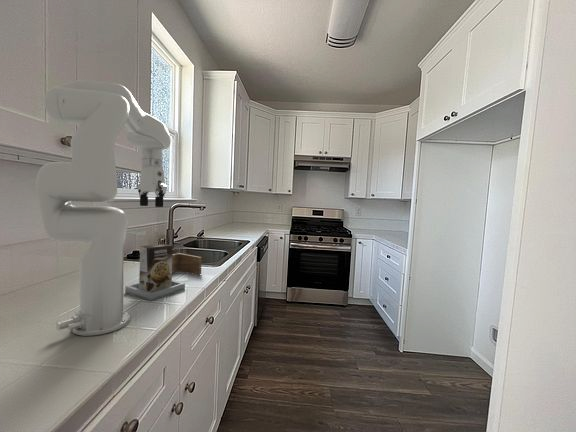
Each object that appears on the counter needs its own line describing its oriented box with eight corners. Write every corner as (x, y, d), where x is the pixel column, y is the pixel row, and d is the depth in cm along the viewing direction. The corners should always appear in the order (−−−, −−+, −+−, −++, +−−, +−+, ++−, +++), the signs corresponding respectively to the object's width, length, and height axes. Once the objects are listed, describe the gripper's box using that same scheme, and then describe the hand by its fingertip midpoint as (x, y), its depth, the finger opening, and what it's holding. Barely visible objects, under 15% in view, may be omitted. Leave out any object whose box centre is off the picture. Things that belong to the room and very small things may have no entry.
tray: (150, 301, 89) (150, 294, 89) (125, 292, 96) (125, 286, 96) (184, 289, 102) (184, 283, 101) (160, 282, 108) (160, 277, 108)
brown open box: (167, 284, 107) (168, 264, 106) (145, 278, 113) (145, 259, 113) (201, 274, 122) (201, 257, 121) (179, 269, 129) (179, 253, 128)
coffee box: (147, 294, 93) (147, 248, 92) (138, 290, 97) (138, 245, 96) (172, 288, 100) (173, 245, 99) (163, 284, 104) (163, 242, 103)
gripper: (174, 164, 109) (173, 207, 110) (147, 165, 117) (146, 205, 118) (157, 162, 102) (156, 207, 103) (129, 163, 111) (129, 205, 112)
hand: (151, 206), depth 111 cm, fingers open, 9 cm apart
